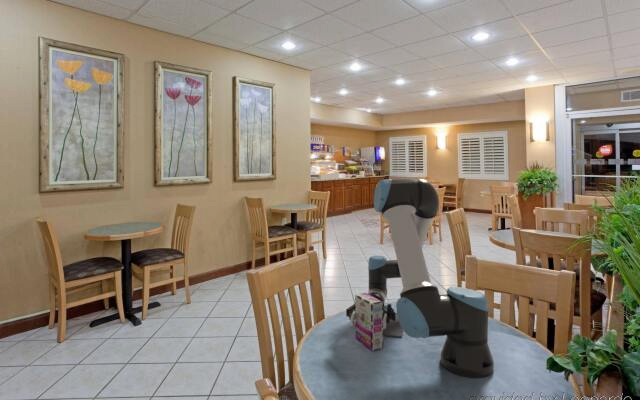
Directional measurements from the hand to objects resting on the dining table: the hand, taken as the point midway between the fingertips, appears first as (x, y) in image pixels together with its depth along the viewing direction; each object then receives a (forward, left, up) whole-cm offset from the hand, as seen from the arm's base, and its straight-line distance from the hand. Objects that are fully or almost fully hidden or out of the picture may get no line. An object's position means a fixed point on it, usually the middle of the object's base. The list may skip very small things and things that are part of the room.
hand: (367, 323), depth 123 cm
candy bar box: (0, -3, -9) cm, 9 cm away
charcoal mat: (-3, -21, -9) cm, 23 cm away
